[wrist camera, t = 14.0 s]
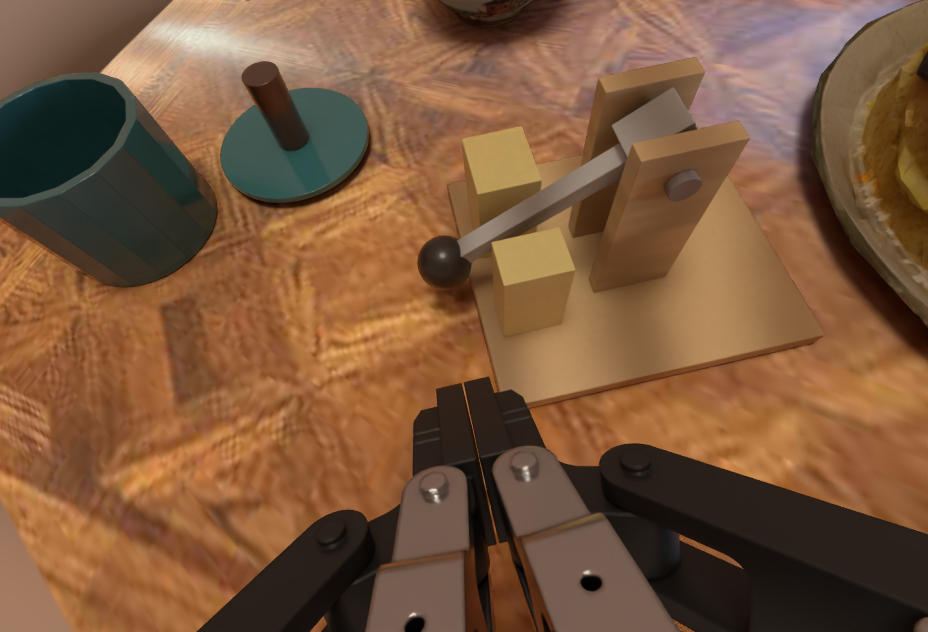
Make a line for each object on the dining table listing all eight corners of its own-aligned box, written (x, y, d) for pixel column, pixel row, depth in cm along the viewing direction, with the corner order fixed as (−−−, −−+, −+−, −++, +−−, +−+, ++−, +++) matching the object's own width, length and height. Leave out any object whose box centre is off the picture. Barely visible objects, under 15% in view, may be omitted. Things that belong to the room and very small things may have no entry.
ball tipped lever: (444, 305, 27) (411, 289, 25) (435, 262, 28) (402, 243, 26) (709, 164, 21) (698, 124, 18) (681, 117, 22) (667, 75, 20)
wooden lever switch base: (503, 414, 26) (504, 326, 15) (448, 195, 33) (422, 31, 22) (813, 343, 26) (1021, 210, 16) (694, 141, 33) (782, -44, 23)
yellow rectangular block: (503, 337, 27) (503, 285, 21) (493, 299, 28) (490, 241, 22) (561, 324, 27) (576, 269, 21) (549, 287, 28) (559, 226, 23)
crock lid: (276, 235, 33) (226, 167, 27) (202, 151, 37) (144, 77, 31) (400, 148, 35) (379, 69, 29) (318, 79, 39) (286, -2, 34)
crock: (110, 315, 31) (-20, 240, 23) (56, 225, 35) (-70, 136, 27) (242, 225, 33) (165, 131, 26) (179, 150, 37) (95, 49, 29)
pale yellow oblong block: (482, 258, 29) (477, 194, 24) (468, 208, 31) (461, 138, 26) (535, 246, 29) (542, 180, 24) (518, 197, 31) (522, 125, 26)
